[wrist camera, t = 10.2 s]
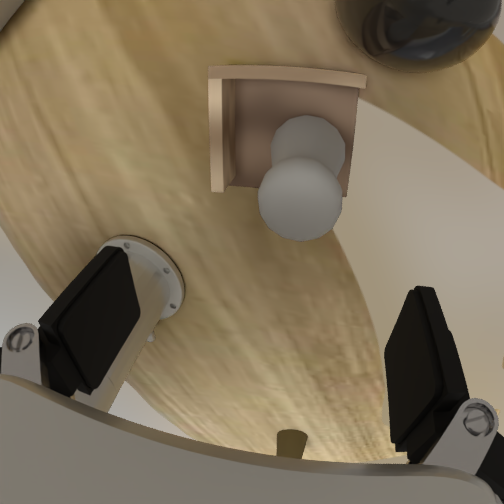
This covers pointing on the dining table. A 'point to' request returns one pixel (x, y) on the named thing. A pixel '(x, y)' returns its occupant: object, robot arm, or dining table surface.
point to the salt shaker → (303, 179)
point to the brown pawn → (291, 443)
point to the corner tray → (272, 115)
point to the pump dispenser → (419, 30)
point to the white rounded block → (8, 10)
